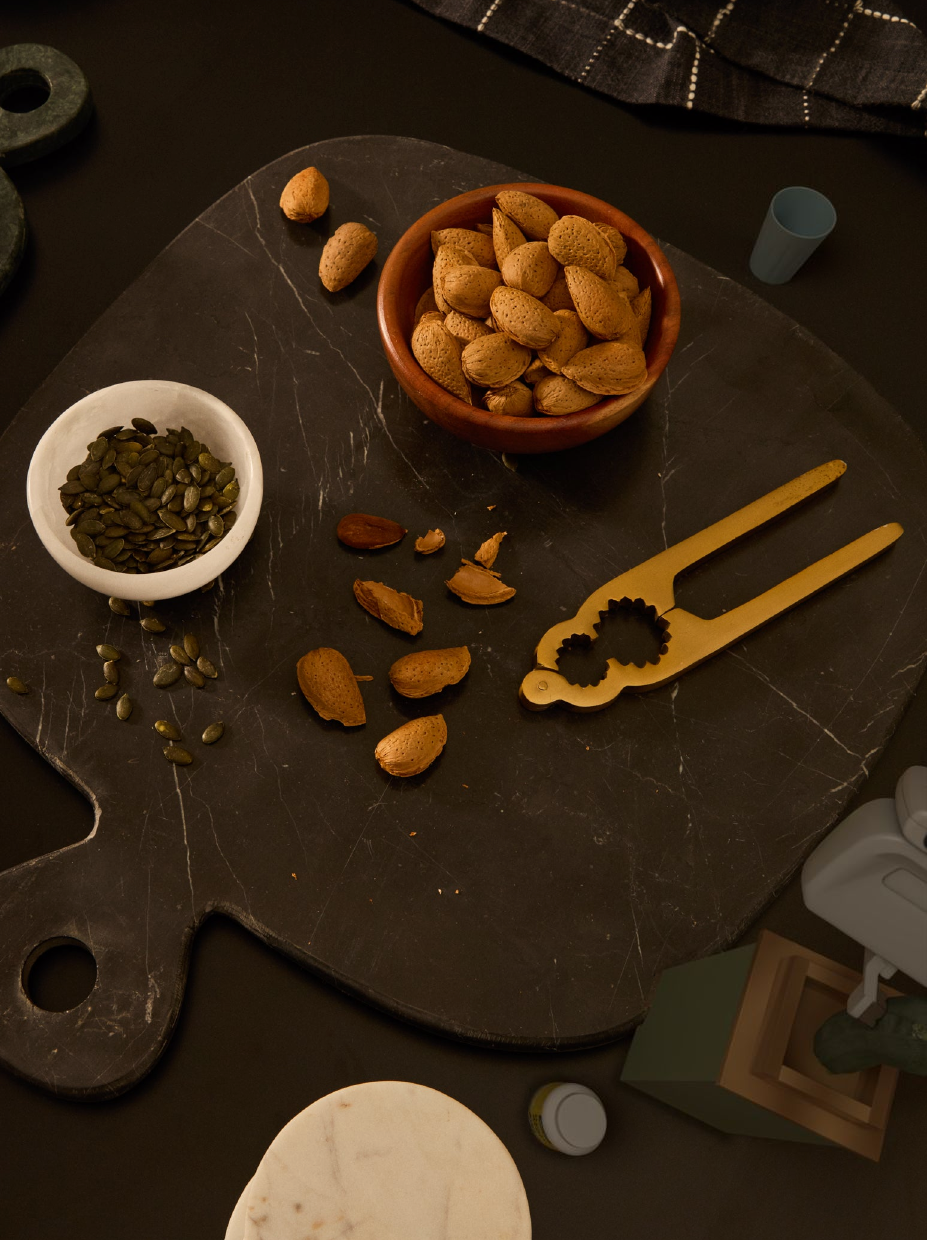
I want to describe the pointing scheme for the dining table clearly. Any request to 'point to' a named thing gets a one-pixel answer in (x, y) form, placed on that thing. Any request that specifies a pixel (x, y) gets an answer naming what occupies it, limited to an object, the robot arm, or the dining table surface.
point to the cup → (791, 233)
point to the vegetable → (876, 1039)
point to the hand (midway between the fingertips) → (902, 1045)
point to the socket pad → (803, 1048)
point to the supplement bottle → (567, 1118)
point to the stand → (701, 1048)
